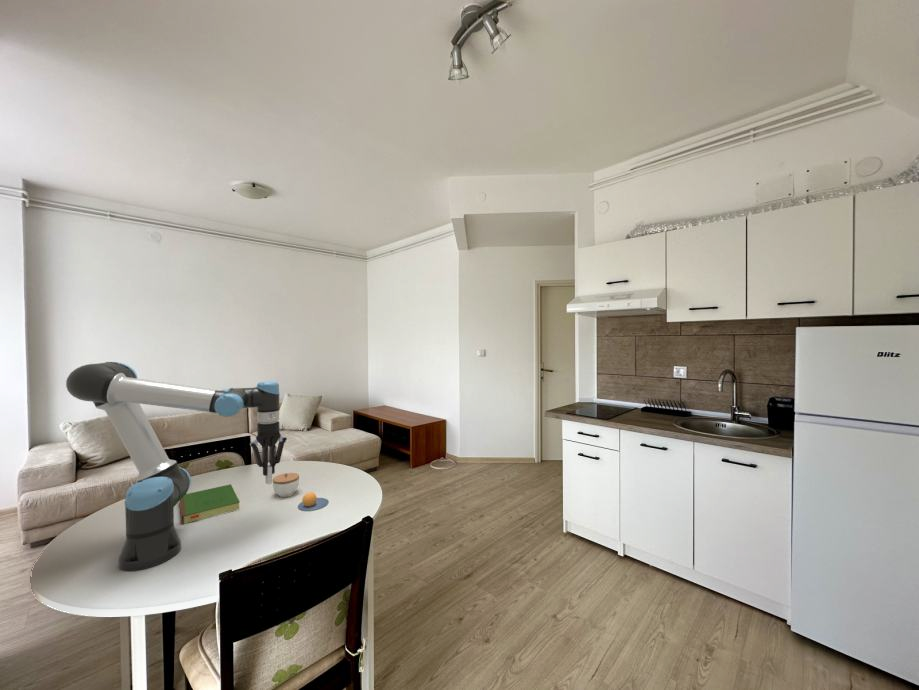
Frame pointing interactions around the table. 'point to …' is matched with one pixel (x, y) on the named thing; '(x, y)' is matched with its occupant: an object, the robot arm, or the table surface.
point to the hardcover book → (208, 503)
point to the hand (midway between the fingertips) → (268, 482)
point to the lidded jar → (286, 484)
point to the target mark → (318, 505)
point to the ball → (309, 499)
